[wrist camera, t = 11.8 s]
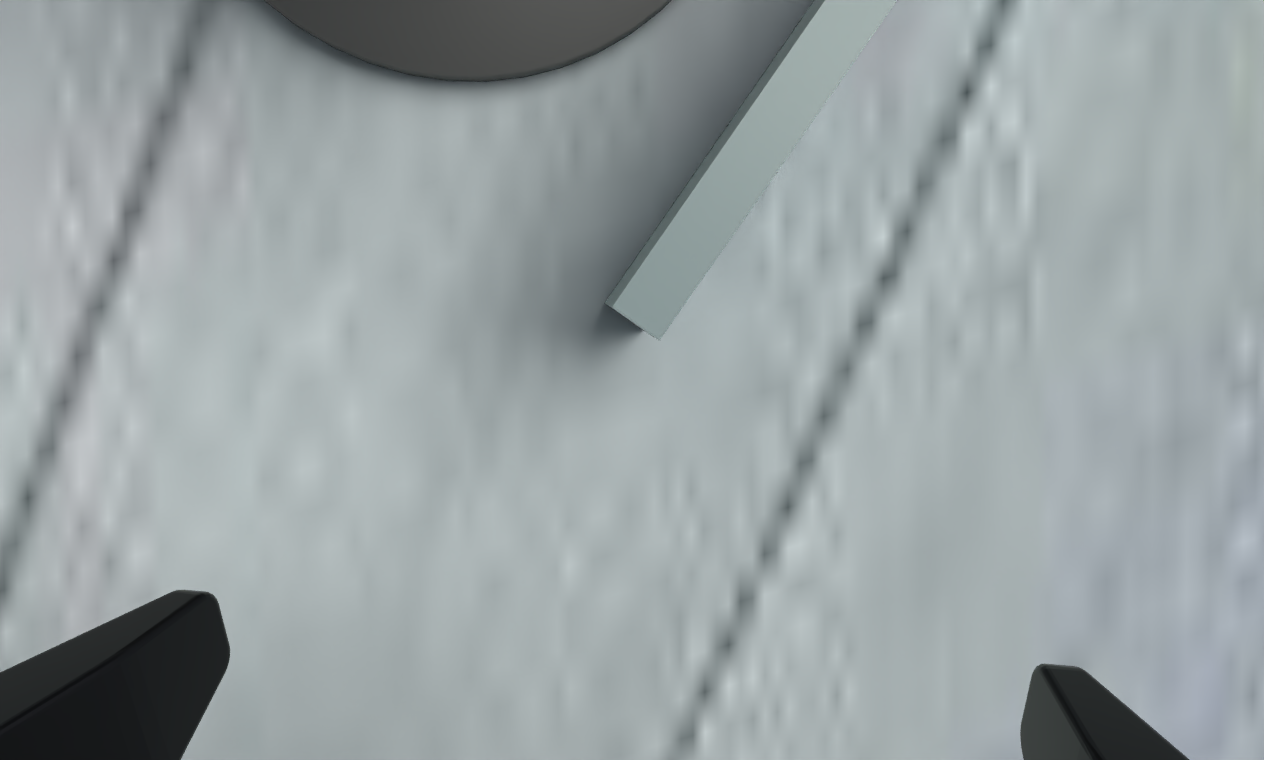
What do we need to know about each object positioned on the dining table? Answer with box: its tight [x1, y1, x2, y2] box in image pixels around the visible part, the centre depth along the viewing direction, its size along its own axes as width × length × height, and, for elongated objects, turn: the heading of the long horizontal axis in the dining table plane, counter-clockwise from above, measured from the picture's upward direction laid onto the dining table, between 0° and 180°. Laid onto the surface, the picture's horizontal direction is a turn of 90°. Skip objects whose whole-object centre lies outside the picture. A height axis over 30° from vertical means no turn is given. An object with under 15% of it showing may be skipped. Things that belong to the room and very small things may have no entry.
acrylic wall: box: [605, 0, 897, 340], centre depth 19 cm, size 16×1×4 cm, turn 145°
